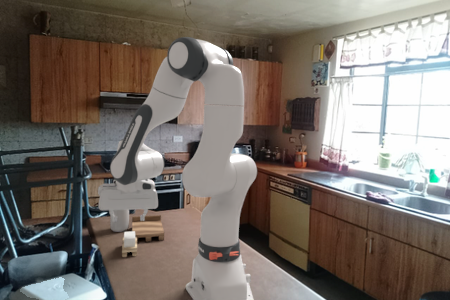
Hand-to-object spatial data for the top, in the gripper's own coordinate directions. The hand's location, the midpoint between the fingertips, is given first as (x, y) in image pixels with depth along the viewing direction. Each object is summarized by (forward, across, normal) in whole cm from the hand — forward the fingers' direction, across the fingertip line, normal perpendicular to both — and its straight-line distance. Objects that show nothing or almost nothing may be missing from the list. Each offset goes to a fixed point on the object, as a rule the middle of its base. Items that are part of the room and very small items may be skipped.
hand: (128, 220), depth 118 cm
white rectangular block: (+8, 0, -1) cm, 8 cm away
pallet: (+11, 0, -1) cm, 11 cm away
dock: (+11, +8, +14) cm, 20 cm away
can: (+12, -4, +21) cm, 25 cm away
